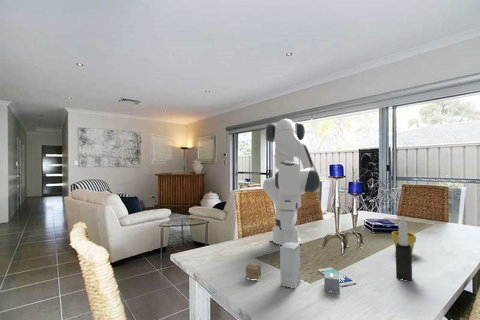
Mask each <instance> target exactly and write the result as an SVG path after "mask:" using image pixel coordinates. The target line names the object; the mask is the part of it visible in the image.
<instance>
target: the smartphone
mask: <svg viewBox="0 0 480 320" xmlns="http://www.w3.org/2000/svg"><path fill="white" fill-rule="evenodd" d="M318 270H319V271H320V272H321V271H324V272H329V273H337V274H339V273H340V274H341V275H344V276H345V278H344V279H345V280H343V281H344V282H343V281H342V280H341V279H340V280H341V281H342V282H341V281H340V282H339V284H340V285H342V286H343V285H348V284H353V283H356V284H357V281H356V280H353V279H352V278H350V277H348V276H347V275H345V274H343V273H341V272H340V271H338V270H337V269H334V268H333V267H327V268H320V269H318ZM320 272H319V273H320ZM324 272H323V274H324ZM321 273H322V272H321ZM321 273H320V274H321ZM323 274H322V275H323ZM340 274H339V275H340ZM344 276H343V277H344ZM340 285H339V286H340Z"/></svg>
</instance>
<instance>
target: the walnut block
mask: <svg viewBox="0 0 480 320" xmlns="http://www.w3.org/2000/svg"><path fill="white" fill-rule="evenodd" d="M260 275H261V276H262V265H261V263H255V262H249V263H248V264H247V265H246V266H245V279H246V278H249V279H257V280H258V279H259V277H260ZM260 278H261V277H260ZM259 280H260V279H259Z"/></svg>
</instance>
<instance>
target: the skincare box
mask: <svg viewBox="0 0 480 320" xmlns="http://www.w3.org/2000/svg"><path fill="white" fill-rule="evenodd" d="M279 260H280V261H279V264H280V265H279V268H280V272H279V273H280V275H279V276H280V286H281V285H284V286H283V287H285V286H287V287H286V288H288V287H292V288H295V289H296V288H297V286H298V285H299V283H300V282H301V281H302V273H301V246H300V244H299V243H292V242H286V243H285V244H283V245H282V246H279ZM300 280H301V281H300ZM297 284H298V285H297ZM292 288H291V289H292Z"/></svg>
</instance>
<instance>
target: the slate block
mask: <svg viewBox="0 0 480 320" xmlns="http://www.w3.org/2000/svg"><path fill="white" fill-rule="evenodd" d="M323 276H324V292H326V291H332V292H339V293H340V285H339V274H337V273H329V272H324V275H323ZM332 292H331V293H332ZM339 293H338V294H339Z"/></svg>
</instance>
